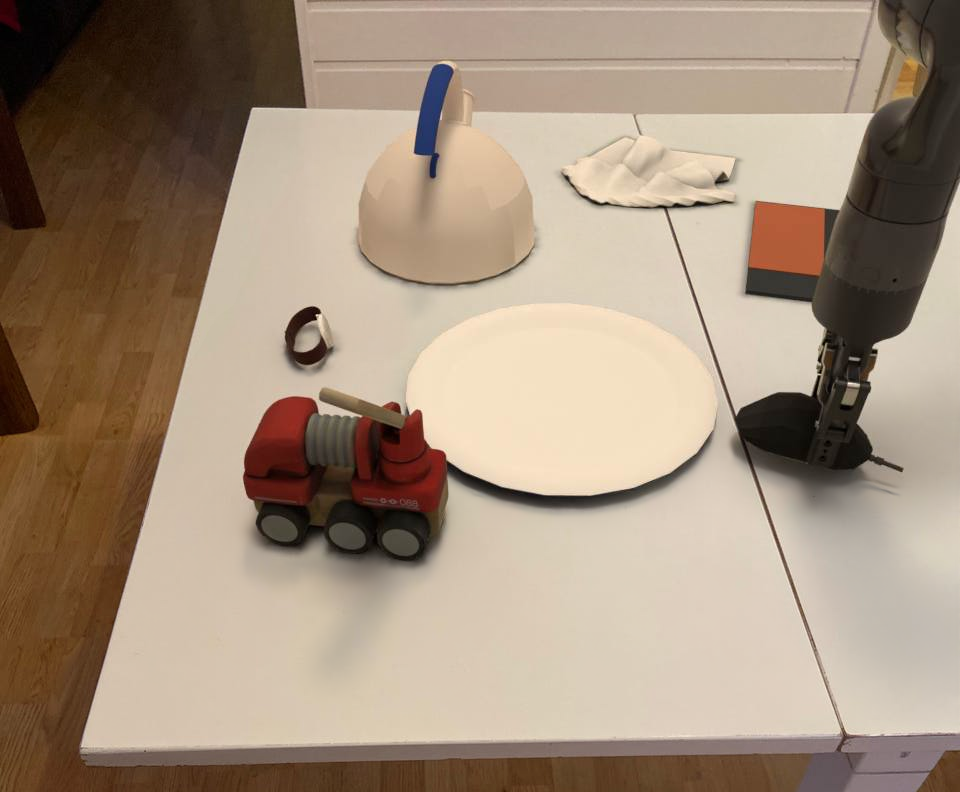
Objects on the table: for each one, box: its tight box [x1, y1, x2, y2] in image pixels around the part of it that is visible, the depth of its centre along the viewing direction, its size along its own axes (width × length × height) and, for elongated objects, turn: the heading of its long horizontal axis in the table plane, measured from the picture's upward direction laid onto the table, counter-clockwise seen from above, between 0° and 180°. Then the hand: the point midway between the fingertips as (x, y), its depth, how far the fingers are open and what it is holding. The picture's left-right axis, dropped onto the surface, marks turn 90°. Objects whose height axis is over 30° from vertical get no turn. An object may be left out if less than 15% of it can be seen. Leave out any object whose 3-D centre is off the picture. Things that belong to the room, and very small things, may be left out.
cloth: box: [560, 134, 736, 208], centre depth 118 cm, size 20×22×2 cm
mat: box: [744, 200, 840, 303], centre depth 108 cm, size 16×20×1 cm
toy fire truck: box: [242, 386, 449, 561], centre depth 73 cm, size 11×16×18 cm
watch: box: [284, 305, 335, 366], centre depth 95 cm, size 8×5×4 cm, turn 7°
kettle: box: [357, 60, 536, 285], centre depth 103 cm, size 20×21×18 cm
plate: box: [405, 302, 720, 498], centre depth 90 cm, size 29×29×2 cm
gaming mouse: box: [734, 391, 905, 473], centre depth 83 cm, size 6×15×4 cm, turn 62°
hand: (818, 437), depth 84 cm, fingers closed on gaming mouse, 6 cm apart
